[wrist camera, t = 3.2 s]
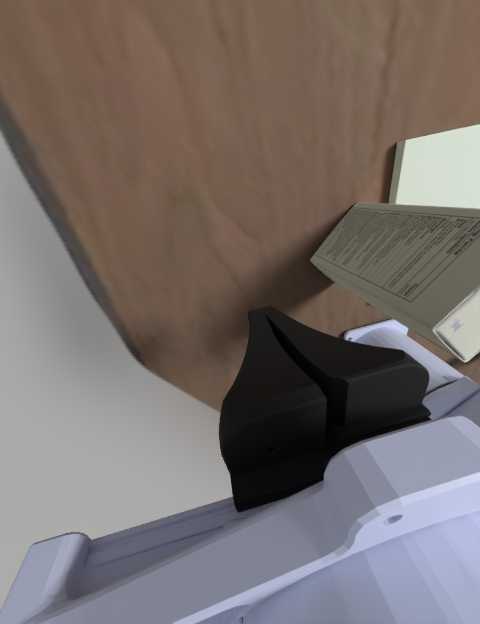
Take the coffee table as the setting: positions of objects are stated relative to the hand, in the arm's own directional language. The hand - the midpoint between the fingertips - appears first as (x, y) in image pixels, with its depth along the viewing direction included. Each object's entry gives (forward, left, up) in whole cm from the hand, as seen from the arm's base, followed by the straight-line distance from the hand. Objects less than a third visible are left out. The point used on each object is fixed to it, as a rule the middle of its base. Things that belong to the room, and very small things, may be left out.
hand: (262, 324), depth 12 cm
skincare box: (0, -10, -9) cm, 14 cm away
